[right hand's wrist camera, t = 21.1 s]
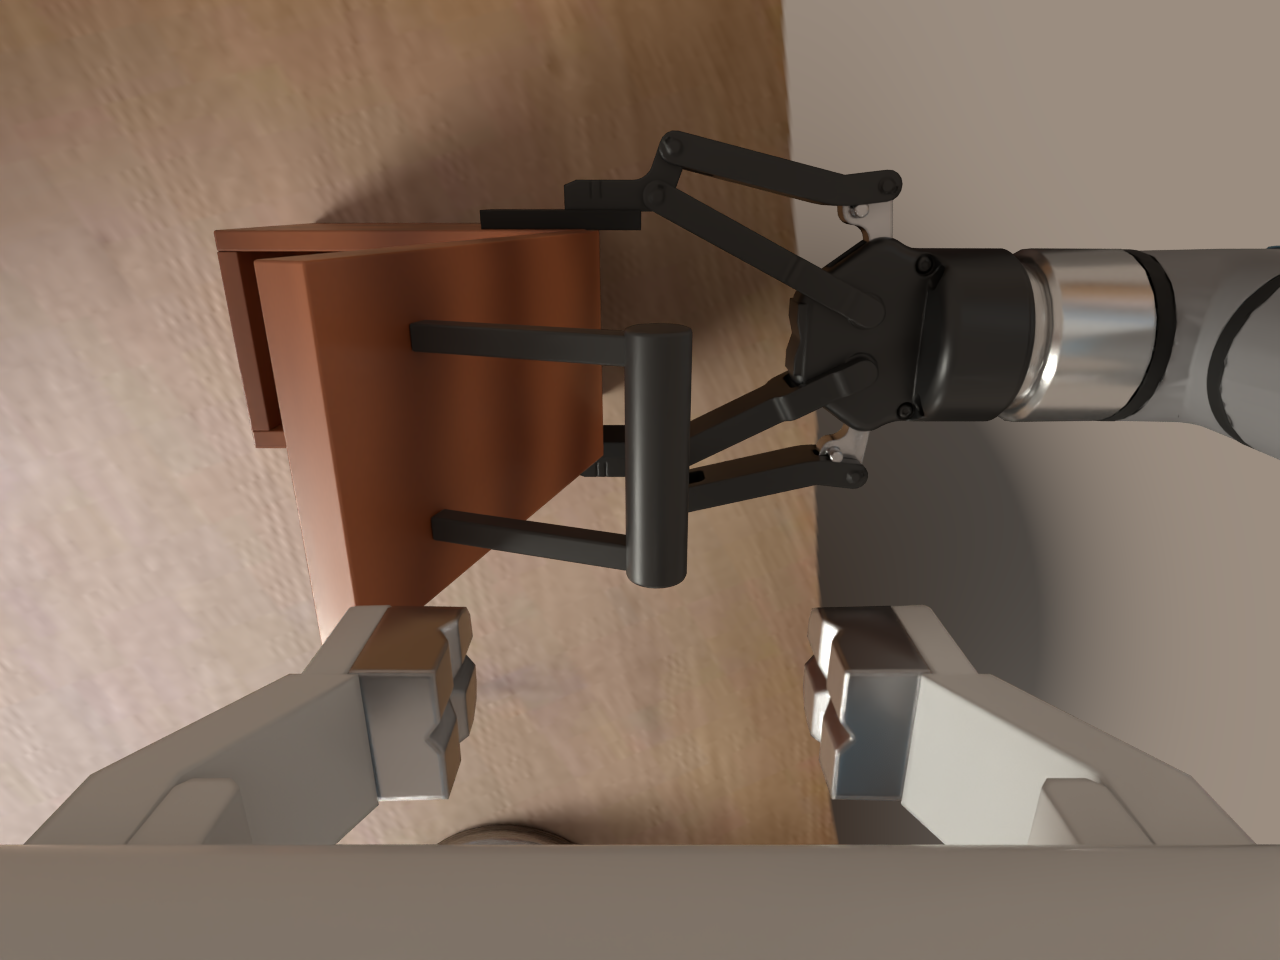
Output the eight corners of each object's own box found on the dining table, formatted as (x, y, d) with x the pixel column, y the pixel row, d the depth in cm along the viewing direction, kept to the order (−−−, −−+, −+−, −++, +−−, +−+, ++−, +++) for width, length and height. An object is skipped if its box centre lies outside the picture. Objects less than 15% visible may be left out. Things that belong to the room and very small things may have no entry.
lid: (320, 647, 18) (640, 717, 16) (251, 259, 15) (640, 271, 12) (576, 452, 32) (766, 473, 30) (568, 230, 29) (781, 233, 26)
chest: (337, 395, 41) (254, 448, 33) (311, 223, 38) (212, 230, 29) (602, 395, 41) (591, 448, 33) (599, 222, 38) (585, 229, 29)
